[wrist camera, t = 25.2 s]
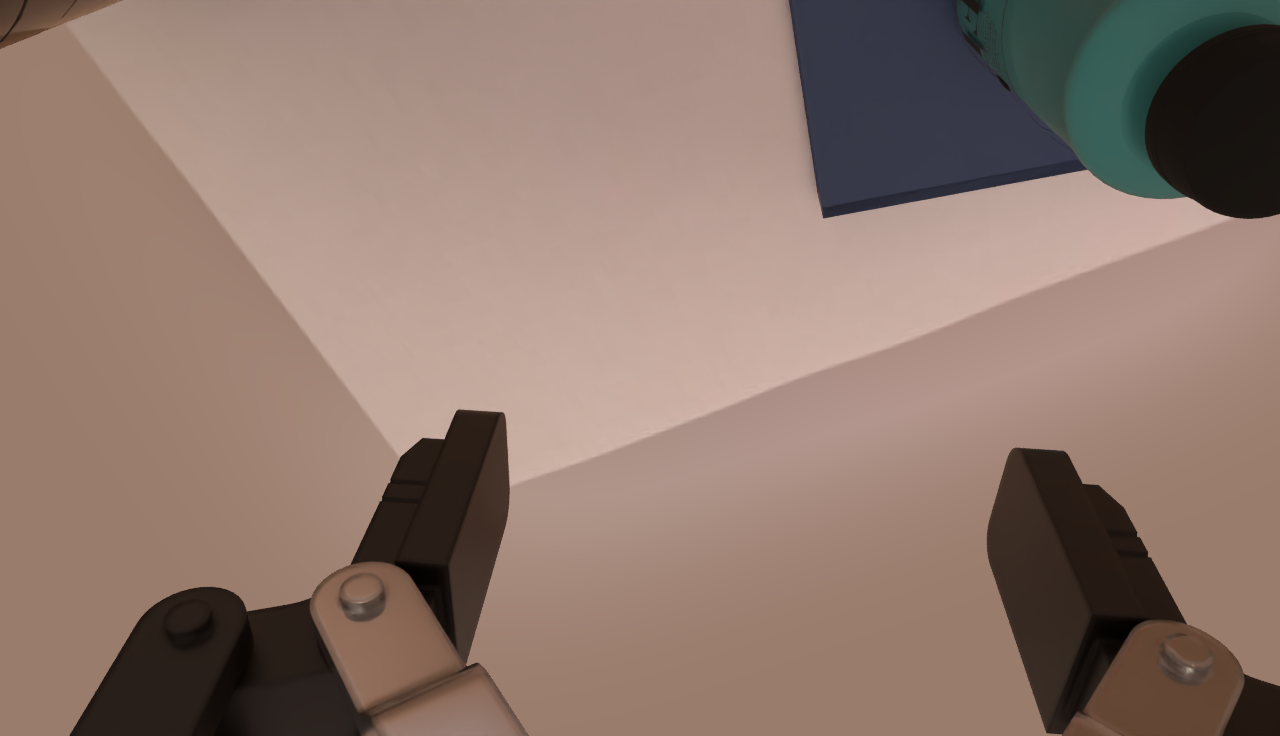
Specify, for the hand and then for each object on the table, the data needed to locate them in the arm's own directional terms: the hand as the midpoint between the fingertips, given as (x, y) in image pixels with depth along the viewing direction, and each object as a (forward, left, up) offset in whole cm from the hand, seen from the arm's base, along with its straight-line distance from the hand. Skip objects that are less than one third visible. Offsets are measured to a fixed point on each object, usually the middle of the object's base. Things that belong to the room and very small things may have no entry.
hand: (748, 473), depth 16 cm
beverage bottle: (+11, +3, -29) cm, 32 cm away
